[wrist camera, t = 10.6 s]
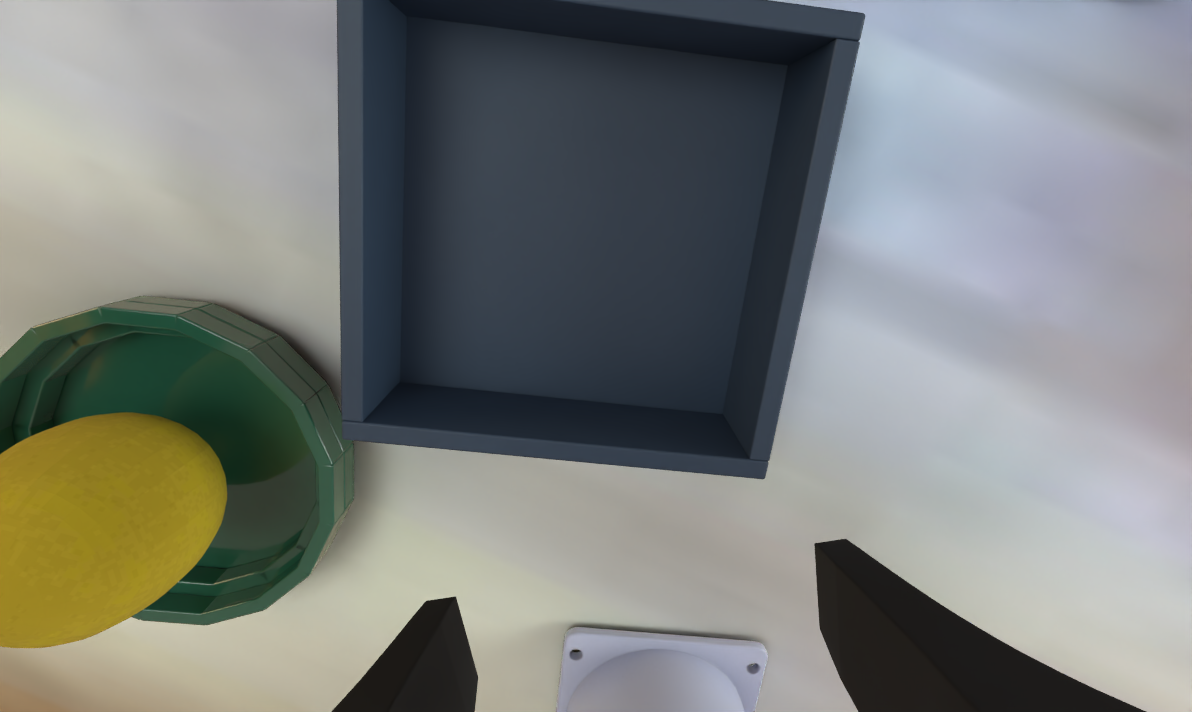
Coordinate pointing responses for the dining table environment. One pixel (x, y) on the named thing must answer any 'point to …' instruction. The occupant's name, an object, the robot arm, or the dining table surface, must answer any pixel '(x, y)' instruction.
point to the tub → (582, 222)
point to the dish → (202, 433)
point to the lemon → (101, 523)
